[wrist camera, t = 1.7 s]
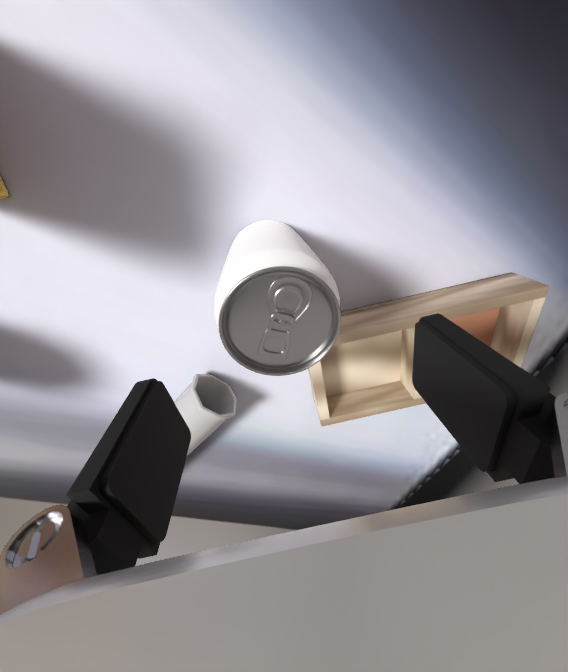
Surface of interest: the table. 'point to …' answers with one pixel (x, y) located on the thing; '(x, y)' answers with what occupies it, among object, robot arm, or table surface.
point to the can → (276, 301)
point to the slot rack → (398, 342)
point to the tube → (205, 407)
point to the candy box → (3, 190)
